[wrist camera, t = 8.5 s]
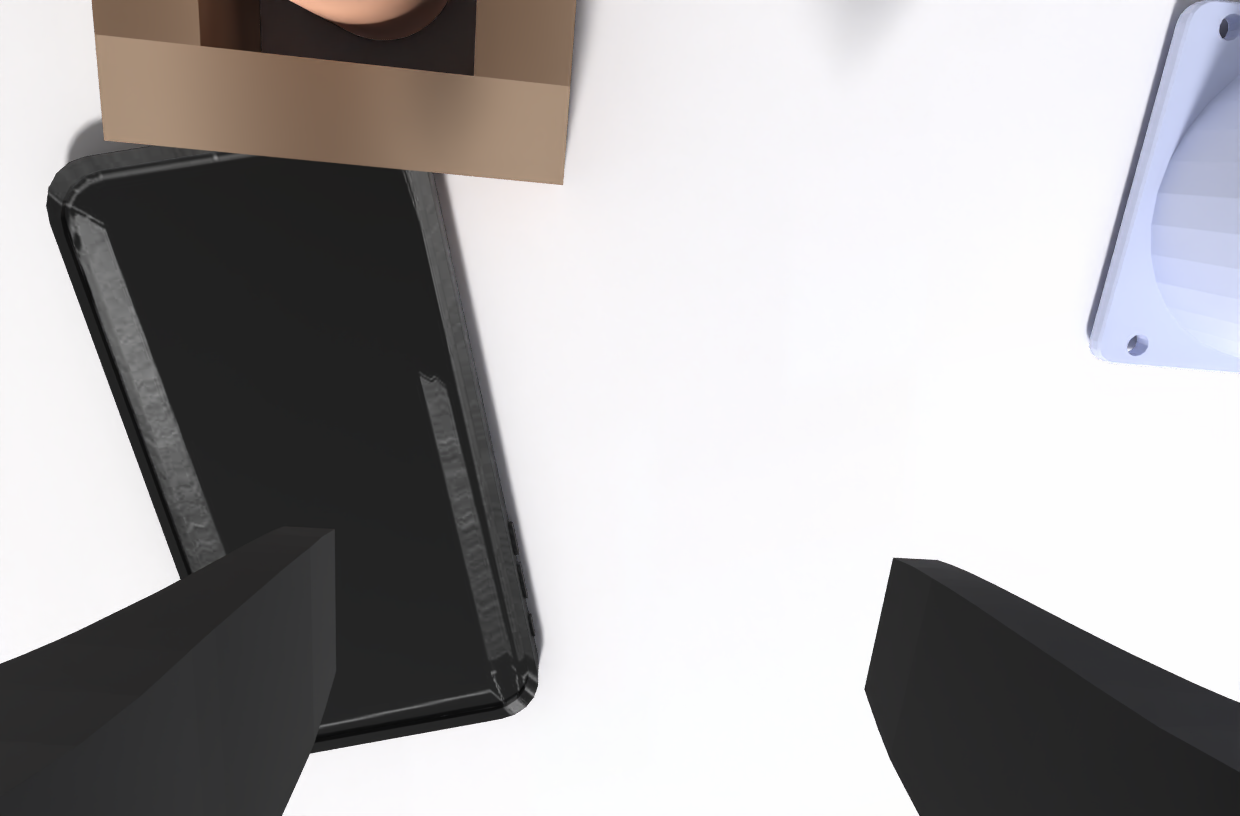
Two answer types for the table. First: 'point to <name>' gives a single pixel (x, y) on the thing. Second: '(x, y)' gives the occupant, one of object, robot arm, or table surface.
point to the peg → (377, 15)
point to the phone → (311, 407)
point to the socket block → (338, 91)
